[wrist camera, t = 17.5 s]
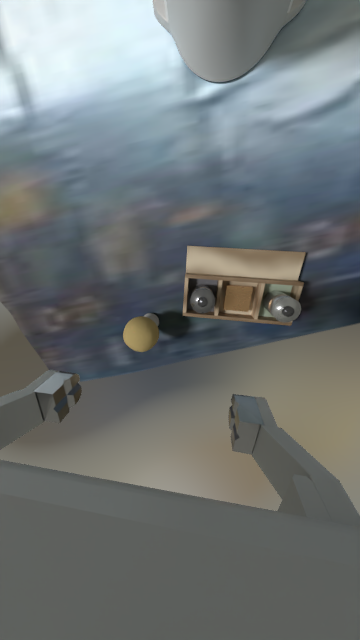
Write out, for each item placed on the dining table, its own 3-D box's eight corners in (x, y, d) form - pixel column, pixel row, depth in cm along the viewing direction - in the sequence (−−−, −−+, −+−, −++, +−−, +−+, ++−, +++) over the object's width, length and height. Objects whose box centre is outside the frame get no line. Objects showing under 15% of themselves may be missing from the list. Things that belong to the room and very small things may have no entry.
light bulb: (145, 300, 39) (127, 316, 30) (171, 316, 39) (161, 337, 30) (132, 323, 41) (111, 345, 32) (157, 338, 42) (143, 364, 32)
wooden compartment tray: (188, 246, 34) (186, 245, 31) (302, 252, 32) (312, 252, 29) (183, 312, 39) (182, 318, 36) (283, 321, 37) (290, 328, 34)
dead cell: (199, 280, 35) (199, 284, 28) (216, 291, 35) (220, 298, 29) (187, 297, 36) (185, 305, 30) (204, 308, 36) (205, 318, 30)
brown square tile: (226, 284, 34) (226, 285, 33) (251, 286, 34) (253, 287, 33) (222, 308, 36) (223, 309, 35) (247, 310, 35) (248, 311, 34)
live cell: (265, 289, 34) (278, 298, 28) (287, 291, 33) (306, 300, 27) (260, 309, 35) (272, 322, 29) (282, 311, 35) (298, 325, 29)
